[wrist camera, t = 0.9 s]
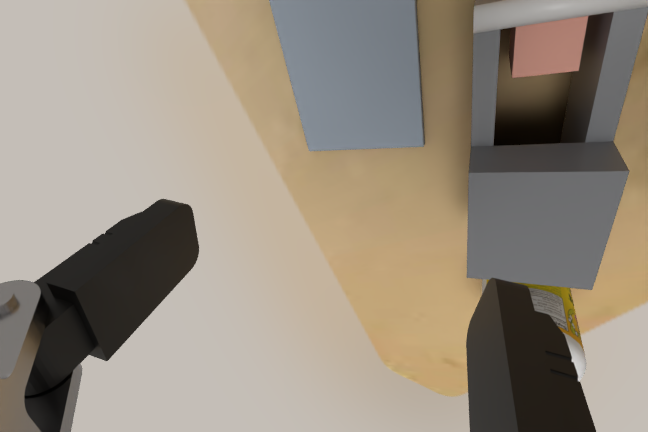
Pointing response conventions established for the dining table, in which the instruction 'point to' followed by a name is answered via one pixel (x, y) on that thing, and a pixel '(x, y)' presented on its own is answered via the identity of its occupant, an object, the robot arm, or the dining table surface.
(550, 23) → the pink rectangular block
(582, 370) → the supplement bottle
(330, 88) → the rubber mat
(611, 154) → the dispenser
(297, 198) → the dining table surface
